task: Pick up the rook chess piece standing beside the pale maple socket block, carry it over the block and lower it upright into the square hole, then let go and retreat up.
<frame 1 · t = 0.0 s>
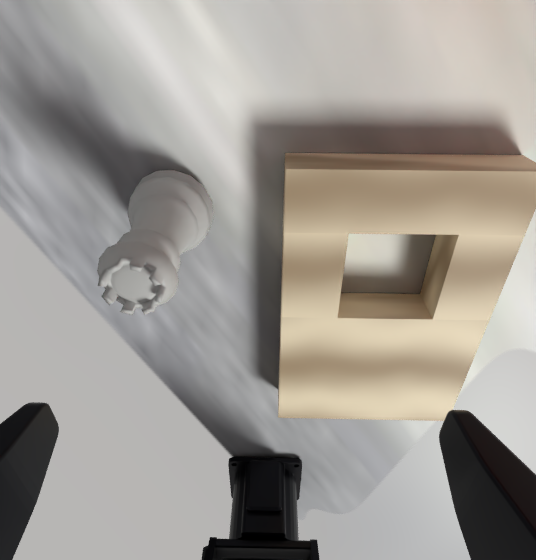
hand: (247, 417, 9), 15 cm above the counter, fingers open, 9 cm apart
socket block: (375, 296, 25), on the counter
rook chess piece: (175, 204, 22), on the counter
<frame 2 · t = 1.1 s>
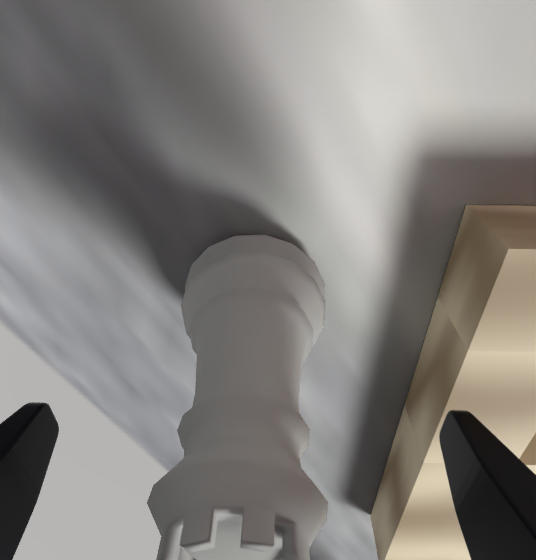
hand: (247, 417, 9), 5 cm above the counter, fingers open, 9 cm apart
rook chess piece: (255, 284, 13), on the counter
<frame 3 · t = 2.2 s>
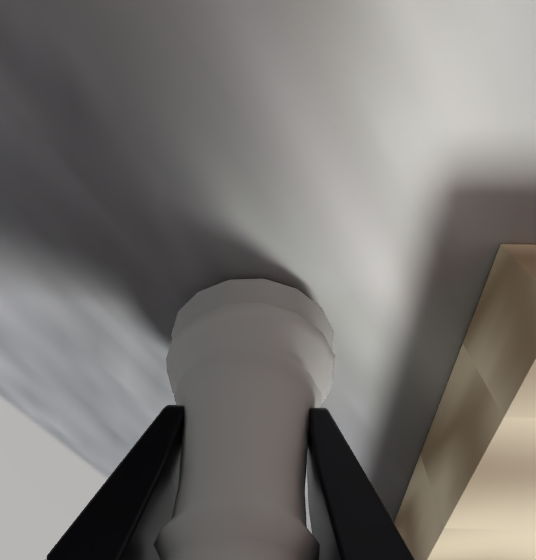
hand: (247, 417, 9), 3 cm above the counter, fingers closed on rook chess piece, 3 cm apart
rook chess piece: (253, 328, 11), on the counter, touching gripper
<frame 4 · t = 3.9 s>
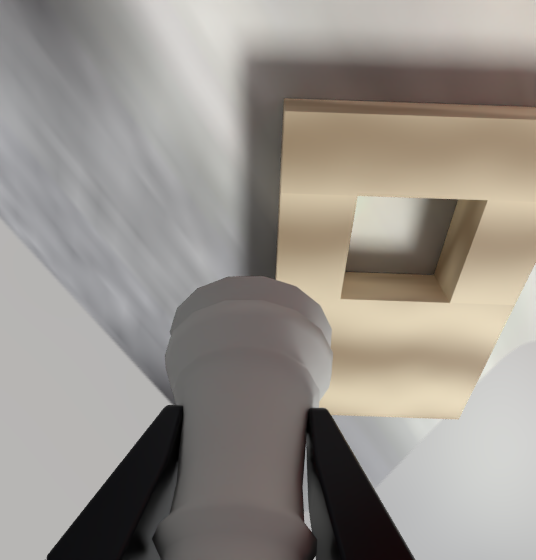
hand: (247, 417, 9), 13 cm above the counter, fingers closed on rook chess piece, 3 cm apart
socket block: (383, 276, 22), on the counter
rook chess piece: (252, 325, 11), point 10 cm above the counter, touching gripper
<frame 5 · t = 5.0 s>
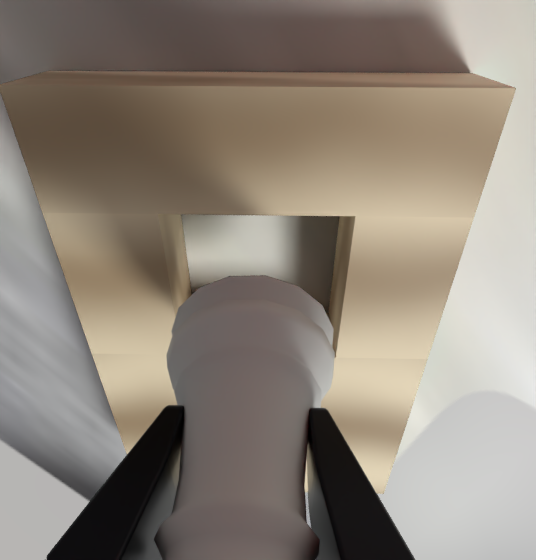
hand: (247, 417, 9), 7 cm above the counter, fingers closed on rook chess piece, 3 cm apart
socket block: (261, 316, 16), on the counter
rook chess piece: (254, 325, 11), point 4 cm above the counter, touching gripper
when the fingers open (4 cm above the counter, at t = 5.9 s): rook chess piece stays where it is, resting in socket block.
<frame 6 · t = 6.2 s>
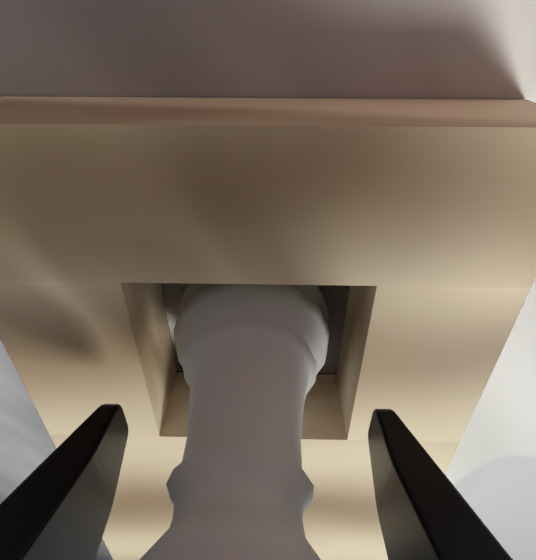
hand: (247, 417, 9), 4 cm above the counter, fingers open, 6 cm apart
socket block: (256, 378, 14), on the counter
rook chess piece: (254, 306, 12), resting in socket block
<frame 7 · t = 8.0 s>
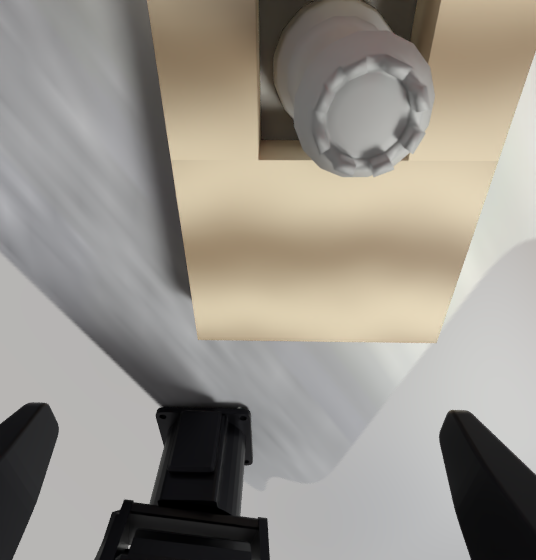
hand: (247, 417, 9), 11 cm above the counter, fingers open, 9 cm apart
socket block: (326, 146, 17), on the counter
rook chess piece: (330, 65, 15), resting in socket block
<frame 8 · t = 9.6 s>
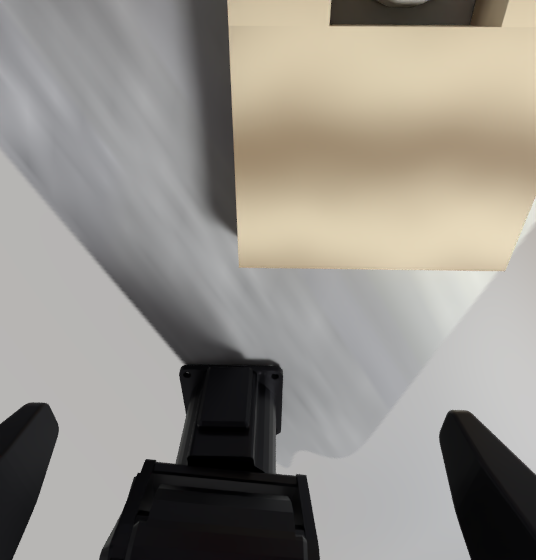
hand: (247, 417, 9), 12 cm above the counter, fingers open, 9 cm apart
socket block: (394, 32, 15), on the counter
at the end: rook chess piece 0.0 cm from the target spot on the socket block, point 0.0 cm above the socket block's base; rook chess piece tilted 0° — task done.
